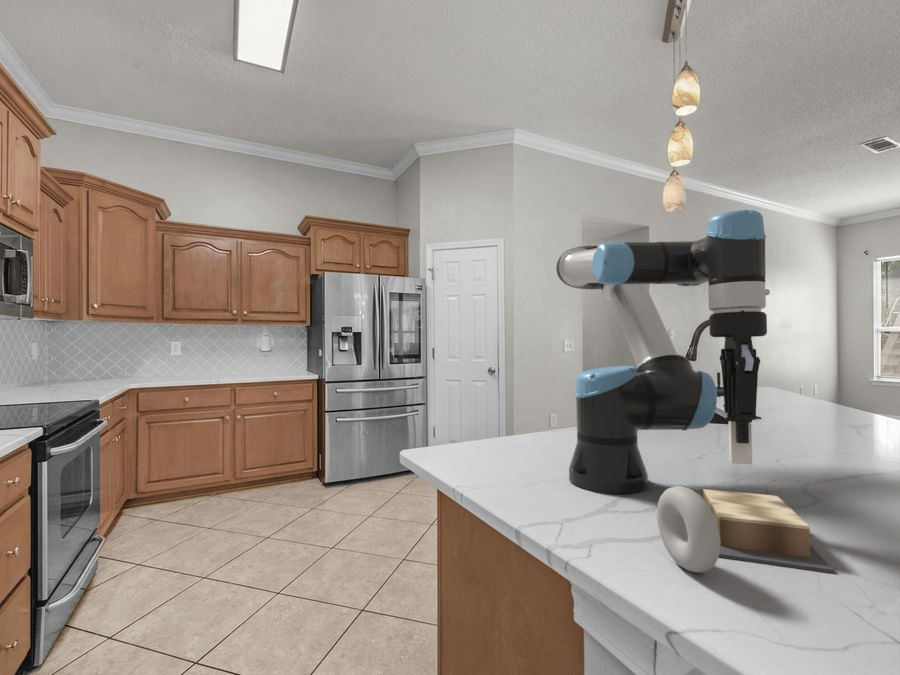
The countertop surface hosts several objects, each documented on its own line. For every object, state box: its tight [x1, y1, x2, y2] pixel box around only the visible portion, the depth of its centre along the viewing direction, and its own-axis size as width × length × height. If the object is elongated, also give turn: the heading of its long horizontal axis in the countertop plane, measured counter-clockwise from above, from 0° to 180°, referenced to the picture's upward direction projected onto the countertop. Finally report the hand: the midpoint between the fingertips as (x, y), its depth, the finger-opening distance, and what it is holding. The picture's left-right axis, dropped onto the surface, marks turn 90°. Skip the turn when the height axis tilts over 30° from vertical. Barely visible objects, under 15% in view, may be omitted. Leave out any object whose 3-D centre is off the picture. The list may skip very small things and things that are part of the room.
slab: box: [702, 488, 811, 558], centre depth 63 cm, size 10×4×12 cm
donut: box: [656, 485, 721, 573], centre depth 55 cm, size 10×4×10 cm, turn 5°
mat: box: [718, 544, 836, 574], centre depth 62 cm, size 13×14×1 cm
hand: (740, 462), depth 68 cm, fingers closed
